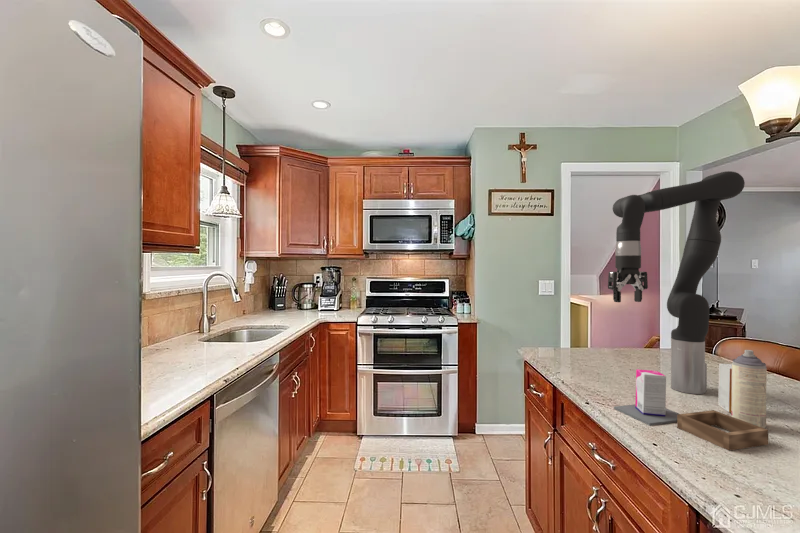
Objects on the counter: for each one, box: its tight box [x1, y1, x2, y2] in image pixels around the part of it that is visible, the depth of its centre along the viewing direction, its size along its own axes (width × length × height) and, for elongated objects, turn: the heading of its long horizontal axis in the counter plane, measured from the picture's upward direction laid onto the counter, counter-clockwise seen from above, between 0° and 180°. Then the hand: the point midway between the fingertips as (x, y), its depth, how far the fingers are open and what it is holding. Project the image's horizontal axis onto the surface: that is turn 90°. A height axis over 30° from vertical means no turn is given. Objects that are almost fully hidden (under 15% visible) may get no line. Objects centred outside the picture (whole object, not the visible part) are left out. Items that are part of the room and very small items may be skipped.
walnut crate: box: [676, 409, 769, 451], centre depth 93 cm, size 12×12×4 cm
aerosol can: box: [730, 349, 768, 429], centre depth 100 cm, size 7×7×20 cm
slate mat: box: [613, 403, 680, 426], centre depth 107 cm, size 14×12×1 cm
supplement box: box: [634, 368, 667, 417], centre depth 107 cm, size 6×6×12 cm
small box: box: [717, 363, 732, 414], centre depth 110 cm, size 8×6×13 cm
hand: (627, 302), depth 128 cm, fingers open, 8 cm apart
